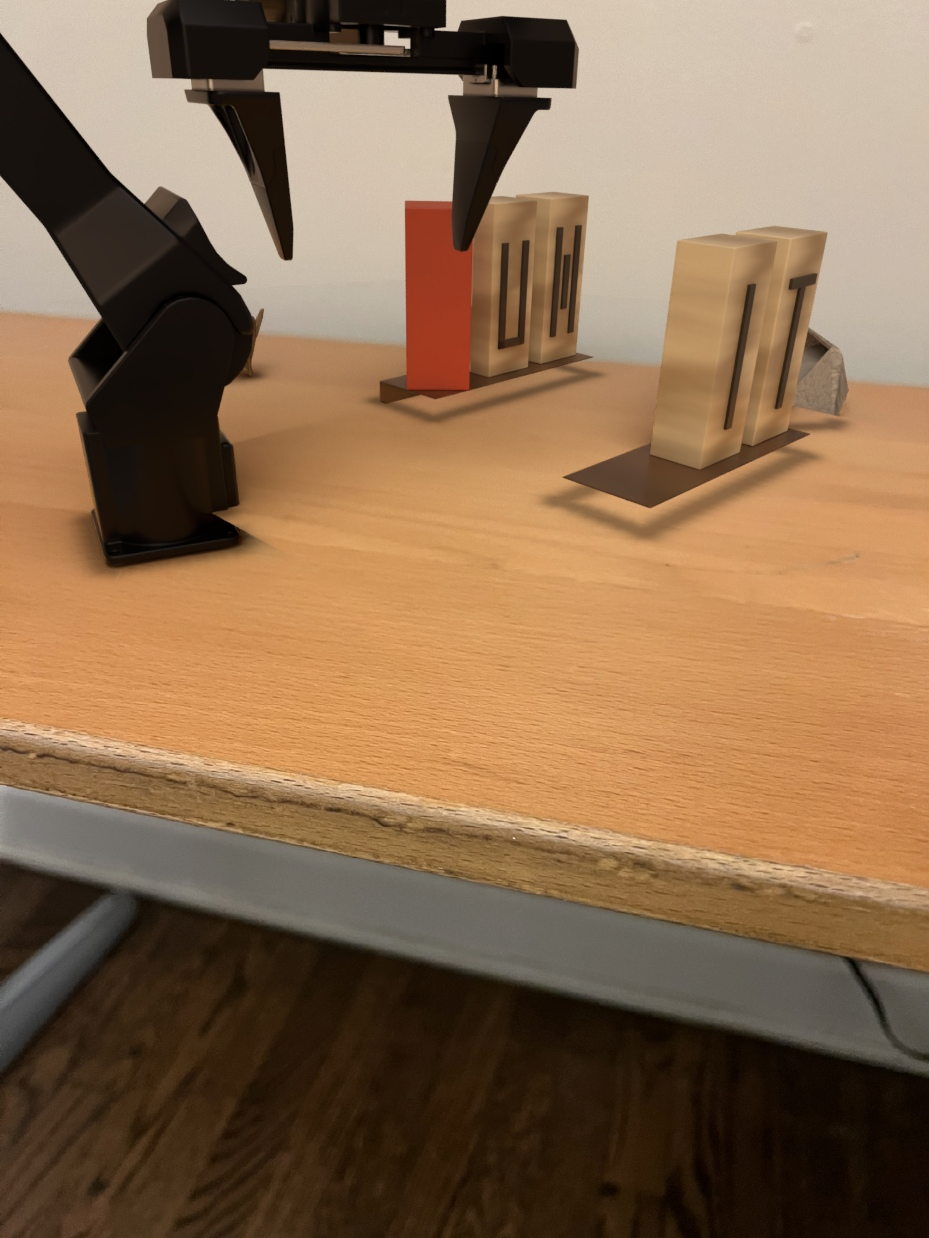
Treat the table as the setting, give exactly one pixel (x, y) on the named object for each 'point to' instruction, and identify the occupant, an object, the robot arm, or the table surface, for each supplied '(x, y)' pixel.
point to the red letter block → (436, 300)
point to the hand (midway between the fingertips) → (376, 255)
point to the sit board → (723, 362)
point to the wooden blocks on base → (521, 290)
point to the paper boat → (821, 376)
